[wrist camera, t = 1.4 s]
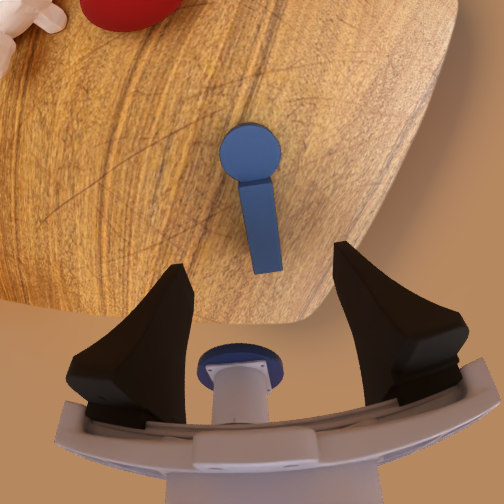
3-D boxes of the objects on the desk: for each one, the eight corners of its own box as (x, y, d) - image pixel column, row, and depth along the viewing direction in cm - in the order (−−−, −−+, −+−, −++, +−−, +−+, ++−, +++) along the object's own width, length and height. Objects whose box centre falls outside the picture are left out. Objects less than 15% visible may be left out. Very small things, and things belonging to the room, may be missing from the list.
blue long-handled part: (289, 248, 23) (294, 269, 21) (242, 255, 23) (242, 276, 21) (273, 118, 17) (278, 122, 15) (217, 127, 18) (212, 132, 15)
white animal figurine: (35, -5, 9) (-16, 116, 12) (-1, -37, 1) (-77, 102, 3) (99, -32, 10) (42, 94, 12) (69, -79, 1) (-32, 61, 4)
